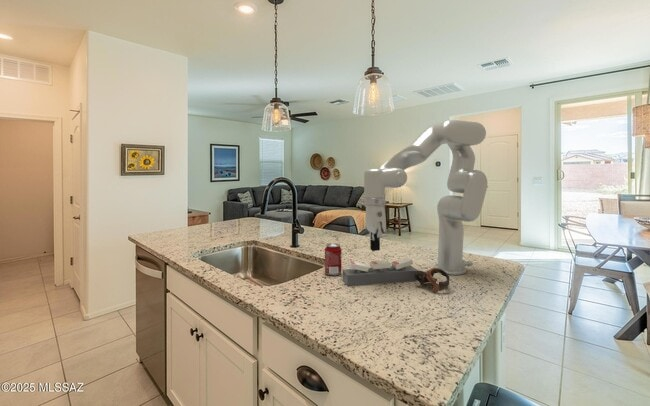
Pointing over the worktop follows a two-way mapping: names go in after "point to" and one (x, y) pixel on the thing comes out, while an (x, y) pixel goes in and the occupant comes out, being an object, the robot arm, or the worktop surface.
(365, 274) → the power strip
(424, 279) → the brown looped band
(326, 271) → the soda can
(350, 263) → the rocker
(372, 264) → the rocker
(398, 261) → the rocker
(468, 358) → the worktop surface
